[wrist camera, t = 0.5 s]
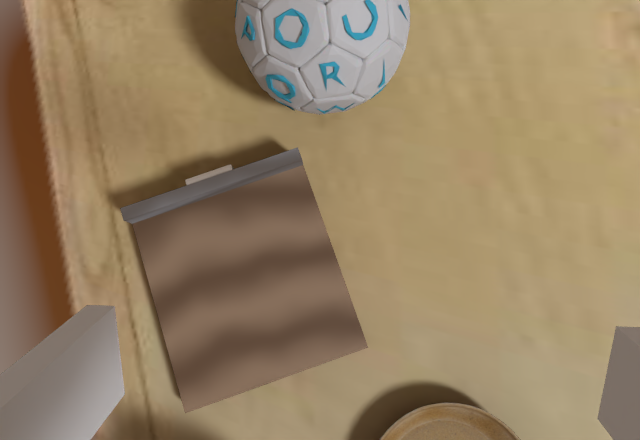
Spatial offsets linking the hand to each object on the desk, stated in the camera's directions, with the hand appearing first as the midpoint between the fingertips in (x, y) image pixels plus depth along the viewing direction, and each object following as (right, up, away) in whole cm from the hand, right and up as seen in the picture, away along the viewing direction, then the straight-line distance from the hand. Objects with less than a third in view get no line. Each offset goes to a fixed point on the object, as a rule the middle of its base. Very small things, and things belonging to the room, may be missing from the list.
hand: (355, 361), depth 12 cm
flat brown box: (-8, -2, +32) cm, 33 cm away
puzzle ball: (-1, +19, +36) cm, 41 cm away
